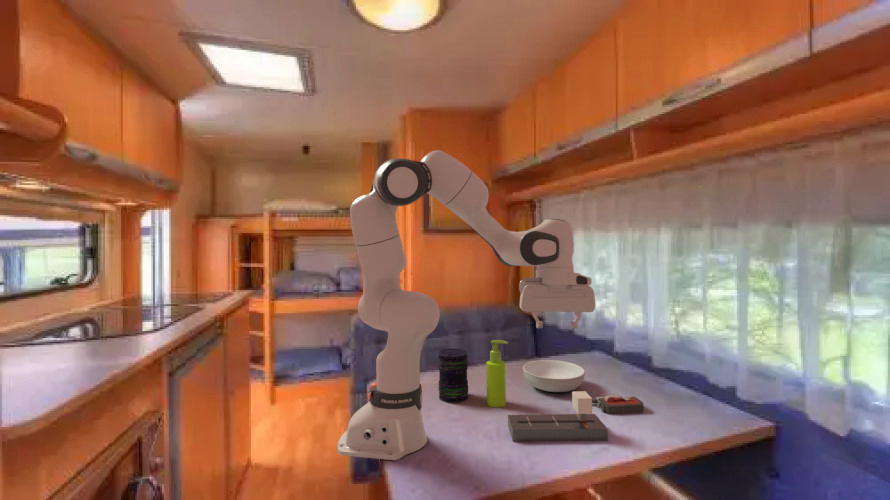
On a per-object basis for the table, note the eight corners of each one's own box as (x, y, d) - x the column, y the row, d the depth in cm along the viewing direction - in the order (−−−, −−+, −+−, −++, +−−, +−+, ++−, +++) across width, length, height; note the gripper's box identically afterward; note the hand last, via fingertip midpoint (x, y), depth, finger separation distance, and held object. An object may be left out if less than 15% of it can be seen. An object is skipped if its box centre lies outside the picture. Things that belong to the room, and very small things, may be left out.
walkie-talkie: (632, 402, 127) (571, 405, 125) (632, 388, 126) (570, 391, 125) (649, 413, 118) (582, 417, 116) (648, 398, 118) (582, 402, 116)
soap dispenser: (508, 408, 123) (507, 343, 123) (486, 406, 124) (485, 342, 124) (509, 401, 129) (508, 338, 128) (487, 399, 130) (486, 338, 130)
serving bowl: (523, 397, 132) (523, 376, 132) (523, 376, 152) (522, 358, 152) (589, 400, 128) (589, 379, 128) (580, 379, 148) (580, 360, 148)
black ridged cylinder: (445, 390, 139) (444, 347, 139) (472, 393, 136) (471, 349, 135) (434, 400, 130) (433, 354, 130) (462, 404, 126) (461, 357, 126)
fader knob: (578, 424, 104) (577, 398, 103) (572, 416, 109) (572, 391, 108) (592, 424, 103) (591, 398, 103) (585, 416, 108) (585, 391, 108)
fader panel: (512, 441, 102) (512, 429, 102) (507, 425, 111) (507, 414, 111) (607, 440, 101) (607, 428, 101) (595, 424, 110) (594, 413, 110)
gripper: (520, 278, 108) (520, 329, 108) (597, 278, 107) (597, 330, 107) (517, 277, 114) (517, 325, 114) (589, 277, 114) (589, 326, 113)
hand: (556, 328), depth 111 cm, fingers open, 8 cm apart
